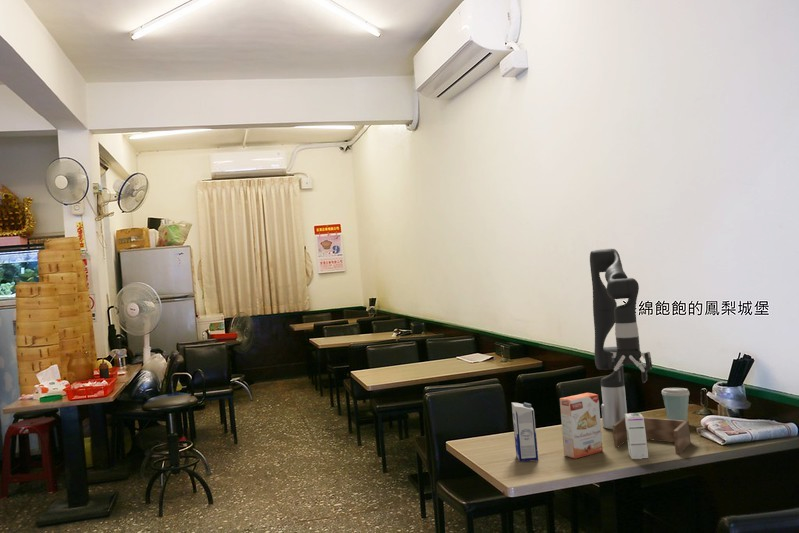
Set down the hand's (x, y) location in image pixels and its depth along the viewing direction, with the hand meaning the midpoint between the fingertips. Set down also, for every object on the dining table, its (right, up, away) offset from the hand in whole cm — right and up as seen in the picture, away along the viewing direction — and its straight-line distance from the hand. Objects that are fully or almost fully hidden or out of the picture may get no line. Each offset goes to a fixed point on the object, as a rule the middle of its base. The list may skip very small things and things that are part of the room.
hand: (631, 381), depth 203 cm
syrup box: (+2, -26, -1) cm, 26 cm away
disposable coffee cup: (+33, -25, +35) cm, 54 cm away
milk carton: (-35, -30, +8) cm, 46 cm away
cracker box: (-14, -28, +8) cm, 32 cm away
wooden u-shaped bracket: (+12, -25, +11) cm, 30 cm away
